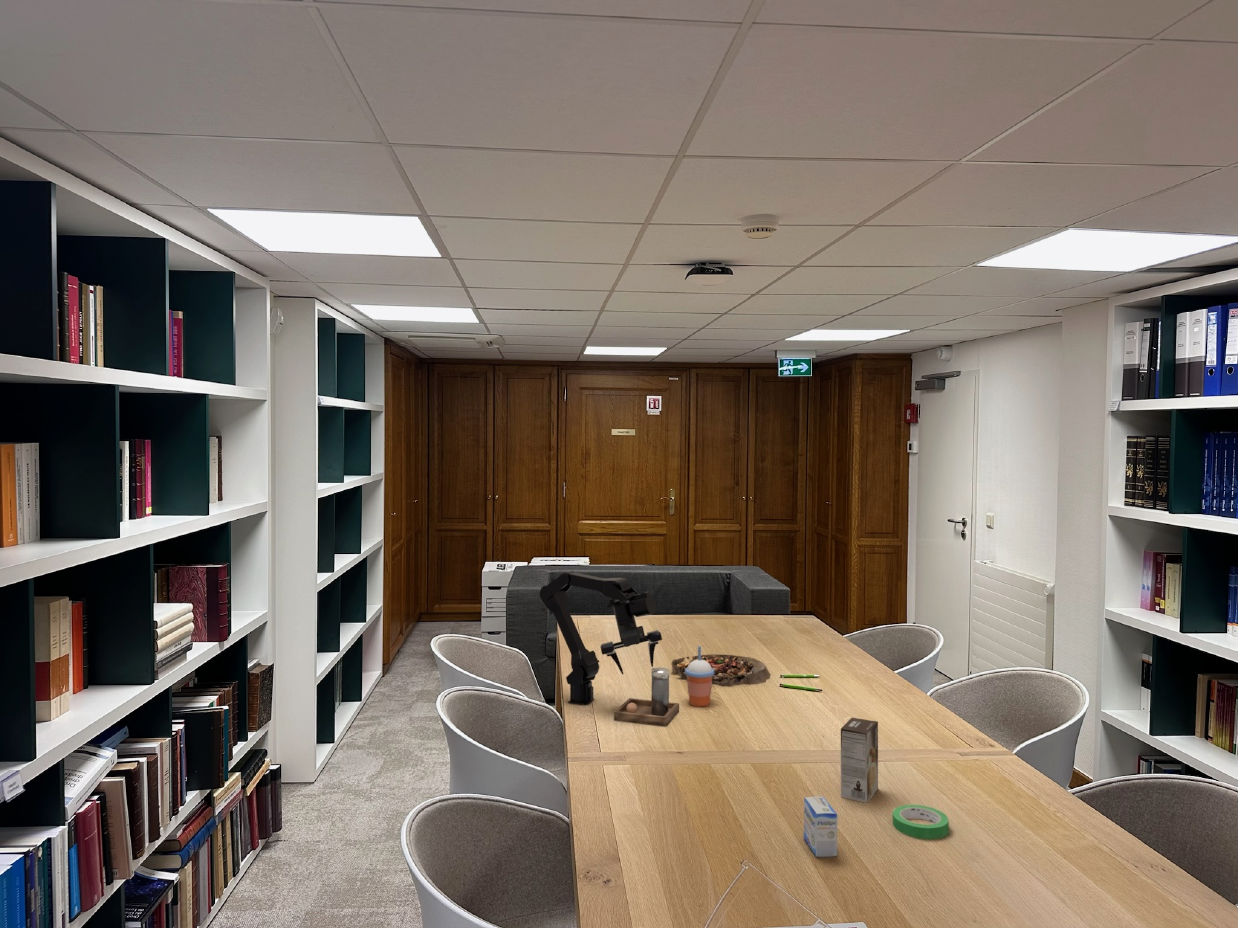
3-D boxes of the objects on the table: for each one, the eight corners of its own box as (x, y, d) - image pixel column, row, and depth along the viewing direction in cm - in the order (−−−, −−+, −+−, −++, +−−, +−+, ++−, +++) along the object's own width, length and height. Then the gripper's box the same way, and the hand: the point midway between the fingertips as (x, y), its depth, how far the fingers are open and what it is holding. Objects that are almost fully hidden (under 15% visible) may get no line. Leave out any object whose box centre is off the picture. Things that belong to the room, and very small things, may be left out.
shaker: (651, 716, 238) (651, 672, 238) (650, 710, 244) (651, 667, 244) (669, 716, 238) (669, 672, 238) (668, 710, 244) (669, 667, 243)
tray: (614, 720, 238) (613, 711, 238) (629, 705, 251) (629, 697, 251) (666, 726, 233) (666, 717, 233) (679, 711, 246) (679, 703, 246)
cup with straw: (712, 708, 248) (712, 650, 248) (683, 707, 250) (683, 649, 250) (715, 699, 257) (715, 643, 257) (686, 698, 259) (686, 642, 258)
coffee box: (851, 783, 193) (851, 716, 193) (878, 788, 189) (878, 720, 189) (839, 797, 185) (840, 727, 185) (868, 803, 182) (868, 732, 181)
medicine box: (803, 838, 166) (803, 796, 166) (824, 837, 166) (824, 795, 166) (815, 857, 158) (815, 813, 158) (837, 856, 158) (837, 812, 158)
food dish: (659, 684, 278) (658, 662, 278) (687, 662, 309) (687, 642, 309) (760, 692, 265) (759, 668, 265) (779, 668, 295) (778, 647, 296)
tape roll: (883, 827, 171) (883, 815, 171) (907, 811, 178) (907, 799, 178) (934, 846, 163) (934, 832, 163) (957, 827, 171) (957, 815, 171)
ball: (624, 706, 240) (627, 699, 242) (625, 715, 241) (629, 708, 244) (634, 707, 239) (638, 700, 241) (636, 716, 240) (639, 709, 242)
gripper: (596, 628, 238) (608, 681, 237) (657, 613, 240) (670, 665, 238) (595, 626, 249) (607, 676, 248) (654, 611, 251) (666, 661, 249)
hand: (637, 670), depth 245 cm, fingers open, 9 cm apart
